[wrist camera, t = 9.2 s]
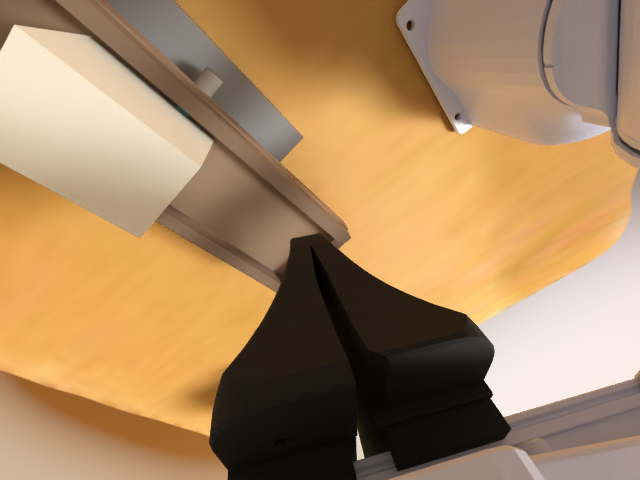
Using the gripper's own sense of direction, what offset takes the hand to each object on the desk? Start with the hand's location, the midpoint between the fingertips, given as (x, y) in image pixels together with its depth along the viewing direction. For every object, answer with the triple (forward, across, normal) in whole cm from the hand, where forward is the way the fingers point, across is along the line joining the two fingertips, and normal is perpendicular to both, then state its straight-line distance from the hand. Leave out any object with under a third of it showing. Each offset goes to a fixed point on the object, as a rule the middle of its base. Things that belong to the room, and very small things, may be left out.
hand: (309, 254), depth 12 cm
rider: (+7, +7, -5) cm, 11 cm away
